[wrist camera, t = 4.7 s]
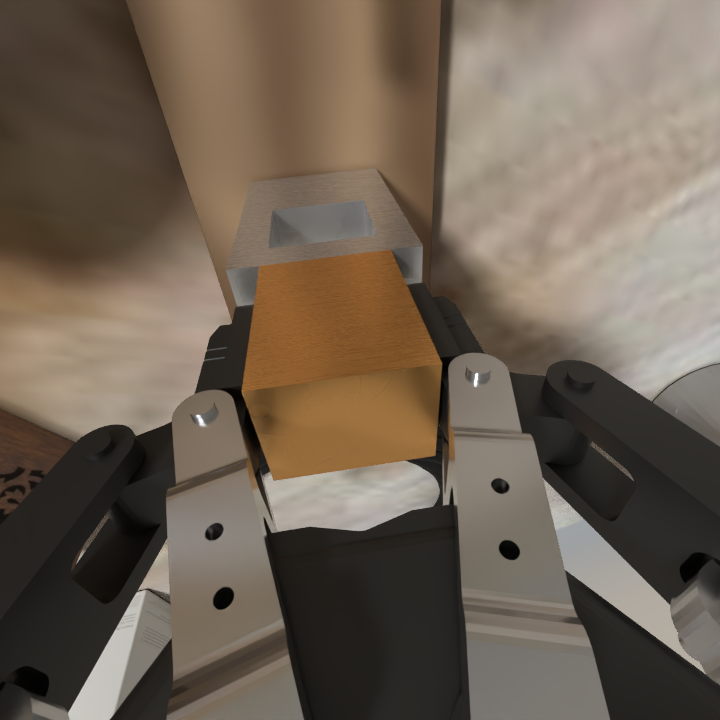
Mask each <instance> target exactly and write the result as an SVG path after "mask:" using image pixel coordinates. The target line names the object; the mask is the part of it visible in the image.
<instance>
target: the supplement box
mask: <svg viewBox="0 0 720 720" xmlns="http://www.w3.org/2000/svg"><path fill="white" fill-rule="evenodd" d="M171 638H172V631H171V608H170V604H169V603H168V602H166V601H164V600H163V599H161V598H160V597H158V596H156V595H155V594H153V593H152V592H150V591H148V590H144V591H140V592H136V594H135V596H134V598H133V599H132V601H131V603H130V605H129V607H128V608H127V610H126V612H125V614H124V615H123V617H122V619H121V621H120V622H119V624H118V626H117V628H116V629H115V631H114V633H113V635H112V637H111V638H110V640H109V642H108V644H107V645H106V647H105V649H104V651H103V652H102V654H101V656H100V658H99V659H98V661H97V663H96V665H95V667H94V668H93V670H92V672H91V674H90V675H89V677H88V679H87V681H86V682H85V684H84V686H83V688H82V689H81V691H80V693H79V695H78V697H77V698H76V700H75V702H74V704H73V705H72V707H71V709H70V711H69V712H68V715H69V719H70V720H110V719H111V717H112V716H113V715H114V713H115V712H116V711H117V709H118V708H119V707H120V705H121V704H122V703H123V701H124V700H125V699H126V697H127V696H128V695H129V693H130V692H131V691H132V689H133V688H134V687H135V686H136V684H137V683H138V682H139V680H140V679H141V678H142V676H143V675H144V674H145V672H146V671H147V670H148V668H149V667H150V666H151V664H152V663H153V662H154V660H155V659H156V658H157V656H158V655H159V654H160V652H161V651H162V650H163V648H164V647H165V646H166V644H167V643H168V642H169V640H170V639H171Z"/></svg>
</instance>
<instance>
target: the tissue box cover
mask: <svg viewBox="0 0 720 720" xmlns="http://www.w3.org/2000/svg"><path fill="white" fill-rule="evenodd" d="M74 444H75V442H73V441H70V440H68V439H66V438H64V437H61V436H59V435H57V434H55V433H52V432H50V431H48V430H46V429H44V428H41V427H39V426H37V425H35V424H32V423H30V422H28V421H26V420H23V419H21V418H19V417H17V416H14V415H12V414H10V413H8V412H5V411H3V410H1V409H0V525H1V524H2V523H3V522H4V521H5V519H6V518H7V517H8V516H9V515H10V514H11V513H12V512H13V511H14V510H15V508H16V507H17V506H18V505H19V504H20V503H21V502H22V501H23V500H24V499H25V497H26V496H27V495H28V494H29V493H30V492H31V491H32V490H33V489H34V487H35V486H36V485H37V484H38V483H39V482H40V481H41V480H42V479H43V478H44V476H45V475H46V474H47V473H48V472H49V471H50V470H51V469H52V468H53V467H54V465H55V464H56V463H57V462H58V461H59V460H60V459H61V458H62V457H63V456H64V454H65V453H66V452H67V451H68V450H69V449H70V448H71V447H72V446H73V445H74ZM83 546H84V545H83ZM83 546H82V548H83ZM82 548H81V549H80V551H79V552H78V554H77V555H76V557H75V559H74V561H73V564H72V569H71V571H72V570H73V569H74V567H75V565H76V563H77V560H78V558H79V555H80V553H81V551H82Z"/></svg>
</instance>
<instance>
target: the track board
mask: <svg viewBox="0 0 720 720" xmlns="http://www.w3.org/2000/svg"><path fill="white" fill-rule="evenodd" d="M126 3H127V6H128V9H129V12H130V15H131V18H132V21H133V24H134V27H135V30H136V33H137V36H138V39H139V42H140V45H141V48H142V51H143V54H144V57H145V60H146V63H147V66H148V69H149V72H150V75H151V78H152V81H153V84H154V87H155V90H156V93H157V96H158V99H159V102H160V105H161V108H162V111H163V114H164V117H165V120H166V123H167V126H168V129H169V132H170V135H171V138H172V141H173V144H174V147H175V150H176V153H177V156H178V159H179V162H180V166H181V169H182V172H183V175H184V178H185V181H186V184H187V187H188V190H189V193H190V196H191V199H192V202H193V205H194V208H195V211H196V214H197V217H198V220H199V223H200V226H201V229H202V232H203V235H204V238H205V241H206V244H207V247H208V250H209V253H210V256H211V259H212V262H213V265H214V268H215V271H216V274H217V277H218V280H219V283H220V286H221V289H222V292H223V295H224V298H225V301H226V304H227V307H228V310H229V313H230V316H231V319H232V320H233V315H234V311H235V307H237V304H236V301H235V298H234V295H233V291H232V288H231V285H230V282H229V279H228V275H227V272H226V268H227V264H228V261H229V257H230V254H231V250H232V247H233V243H234V239H235V236H236V232H237V229H238V225H239V222H240V218H241V214H242V211H243V207H244V204H245V200H246V197H247V193H248V189H249V186H250V182H256V181H265V180H274V179H282V178H291V177H300V176H308V175H317V174H326V173H335V172H343V171H352V170H361V169H370V168H376V170H377V171H378V173H379V174H380V176H381V178H382V179H383V181H384V183H385V184H386V186H387V188H388V189H389V191H390V192H391V194H392V196H393V197H394V199H395V201H396V202H397V204H398V206H399V207H400V209H401V210H402V212H403V214H404V215H405V217H406V219H407V220H408V222H409V224H410V225H411V227H412V228H413V230H414V232H415V233H416V235H417V237H418V238H419V240H420V242H421V243H422V245H423V260H422V282H424V283H425V285H426V287H427V289H428V290H429V287H430V263H431V238H432V214H433V189H434V165H435V140H436V116H437V91H438V67H439V42H440V18H441V0H126Z"/></svg>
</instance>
